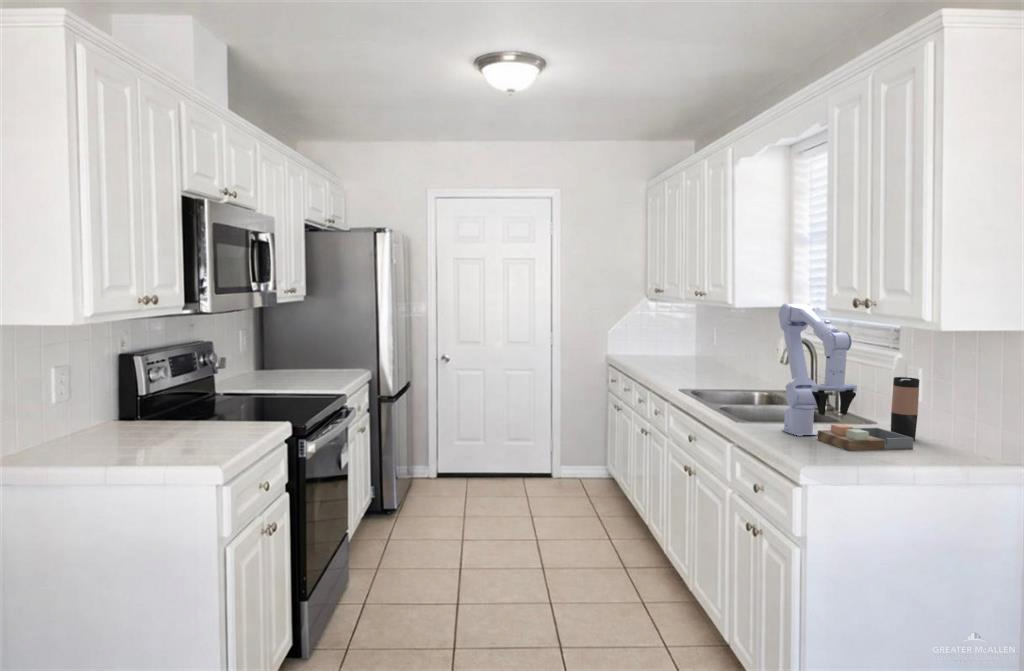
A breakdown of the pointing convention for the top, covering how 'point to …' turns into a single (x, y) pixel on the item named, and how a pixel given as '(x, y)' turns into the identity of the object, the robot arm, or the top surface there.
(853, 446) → the board
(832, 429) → the tile terracotta
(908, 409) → the travel mug
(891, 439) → the box
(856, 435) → the tile sage
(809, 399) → the robot arm
